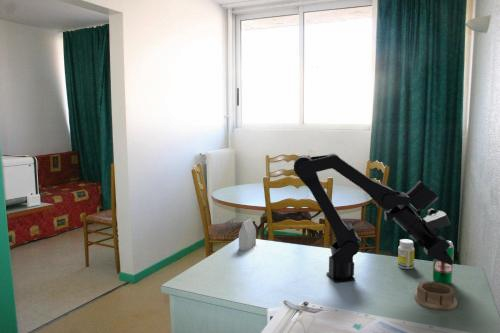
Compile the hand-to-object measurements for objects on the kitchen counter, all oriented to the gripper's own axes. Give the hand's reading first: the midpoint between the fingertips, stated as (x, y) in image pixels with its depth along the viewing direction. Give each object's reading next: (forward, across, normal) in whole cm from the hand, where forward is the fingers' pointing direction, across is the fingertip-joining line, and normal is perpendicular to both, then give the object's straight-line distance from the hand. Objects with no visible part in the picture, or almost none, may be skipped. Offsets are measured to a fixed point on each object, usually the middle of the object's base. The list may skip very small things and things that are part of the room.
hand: (448, 260), depth 116 cm
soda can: (+4, 0, +6) cm, 7 cm away
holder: (-1, -13, +10) cm, 16 cm away
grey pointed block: (-38, +25, +48) cm, 66 cm away
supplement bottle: (-1, +11, +11) cm, 16 cm away
